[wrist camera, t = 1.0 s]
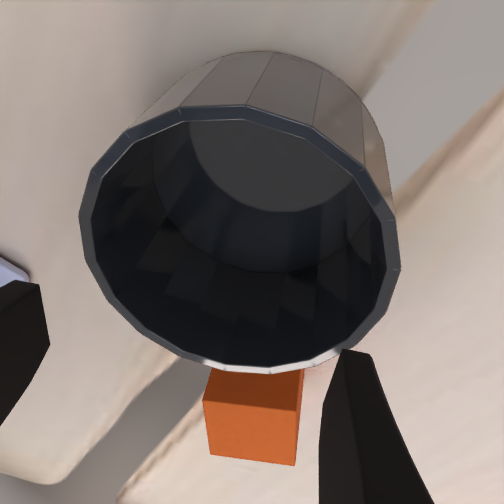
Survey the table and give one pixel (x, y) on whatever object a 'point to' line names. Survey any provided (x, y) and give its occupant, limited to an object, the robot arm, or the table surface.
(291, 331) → the desk cup
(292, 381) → the orange block
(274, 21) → the table surface
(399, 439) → the robot arm
